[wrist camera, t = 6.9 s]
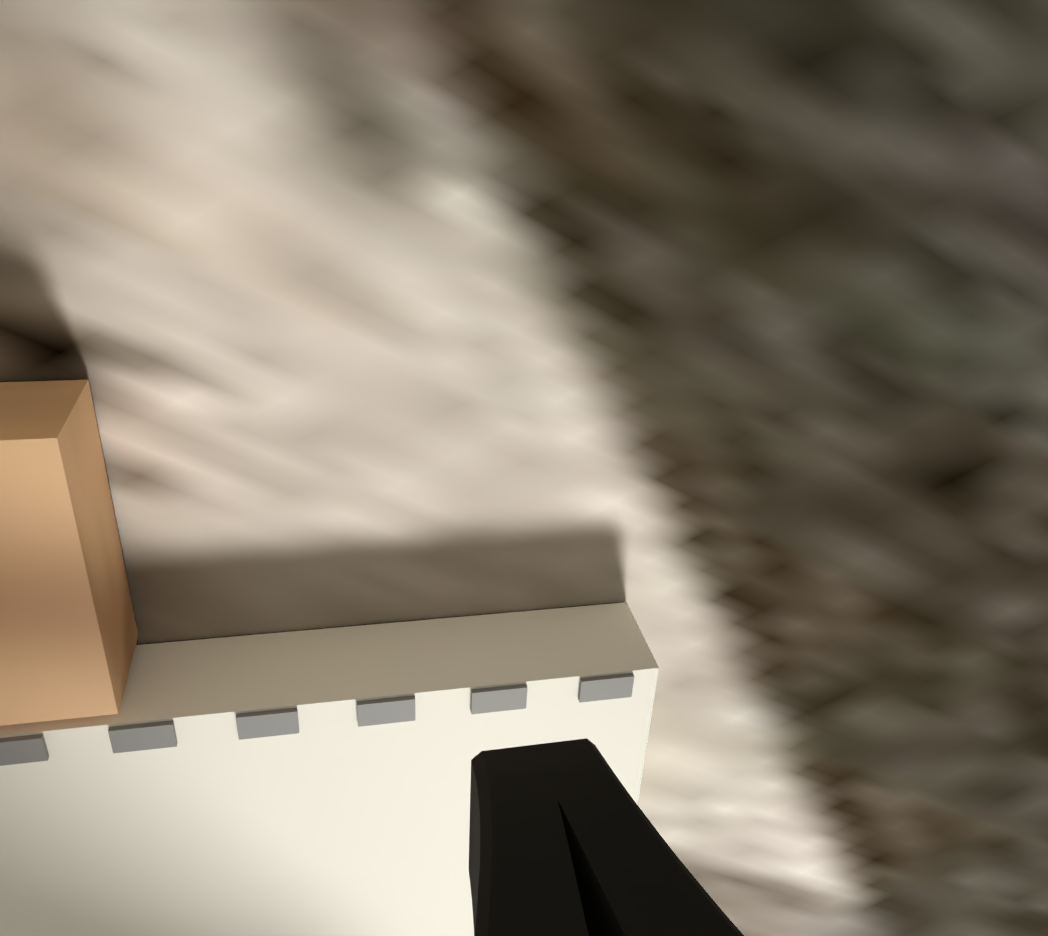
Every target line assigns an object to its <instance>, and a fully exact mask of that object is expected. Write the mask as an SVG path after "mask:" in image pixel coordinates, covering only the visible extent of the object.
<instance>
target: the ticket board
mask: <svg viewBox="0 0 1048 936" xmlns="http://www.w3.org/2000/svg"><path fill="white" fill-rule="evenodd" d="M658 670H659V667H658V665H657V663H656V661H655V659H654V657H653V655H652V653H651V651H650V649H649V647H648V645H647V643H646V641H645V639H644V637H643V635H642V633H641V631H640V629H639V626H638V624H637V622H636V620H635V618H634V616H633V614H632V612H631V610H630V608H629V606H628V604H627V602H625V603H614V604H602V605H591V606H579V607H568V608H556V609H545V610H533V611H522V612H510V613H499V614H487V615H476V616H465V617H453V618H442V619H430V620H419V621H407V622H396V623H384V624H373V625H361V626H350V627H338V628H327V629H315V630H304V631H292V632H281V633H269V634H258V635H246V636H235V637H224V638H212V639H201V640H189V641H178V642H166V643H155V644H143V645H136V646H135V650H134V654H133V658H132V662H131V666H130V669H129V673H128V677H127V681H126V685H125V689H124V693H123V697H122V701H121V704H120V708H119V712H118V714H112V715H102V716H92V717H82V718H72V719H63V720H53V721H43V722H33V723H23V724H13V725H3V726H0V936H474V923H473V908H472V896H471V886H470V877H469V829H470V788H471V760H472V759H473V758H474V757H475V756H476V755H478V754H479V753H480V752H481V751H486V750H494V749H503V748H511V747H519V746H527V745H536V744H544V743H552V742H561V741H569V740H577V739H585V738H587V739H588V740H590V741H591V742H592V743H593V744H595V745H596V747H597V748H598V750H599V751H600V753H601V754H602V756H603V757H604V759H605V760H606V762H607V763H608V765H609V766H610V768H611V769H612V770H613V772H614V773H615V775H616V776H617V778H618V779H619V780H620V782H621V783H622V785H623V786H624V787H625V789H626V790H627V792H628V793H629V794H630V796H631V797H632V798H633V800H634V801H635V802H636V804H638V798H639V791H640V785H641V779H642V772H643V766H644V759H645V753H646V747H647V740H648V734H649V728H650V721H651V715H652V708H653V702H654V696H655V689H656V683H657V677H658Z"/></svg>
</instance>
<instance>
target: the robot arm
mask: <svg viewBox="0 0 1048 936" xmlns="http://www.w3.org/2000/svg"><path fill="white" fill-rule="evenodd" d="M469 877H470V886H471V896H472V908H473V923H474V936H744V935H743V934H742V933H741V932H740V931H739V930H738V929H737V927H736V926H735V925H734V924H733V923H732V922H731V921H730V919H729V918H728V917H727V916H726V915H725V914H724V912H723V911H722V910H721V909H720V908H719V907H718V905H717V904H716V903H715V902H714V901H713V899H712V898H711V897H710V896H709V895H708V893H707V892H706V891H705V890H704V889H703V887H702V886H701V885H700V884H699V883H698V881H697V880H696V879H695V878H694V877H693V875H692V874H691V873H690V872H689V871H688V869H687V868H686V867H685V866H684V864H683V863H682V862H681V861H680V860H679V858H678V857H677V856H676V855H675V853H674V852H673V851H672V850H671V848H670V847H669V846H668V845H667V843H666V842H665V841H664V839H663V838H662V837H661V836H660V834H659V833H658V832H657V830H656V829H655V828H654V826H653V825H652V824H651V822H650V821H649V820H648V818H647V817H646V816H645V815H644V813H643V812H642V811H641V809H640V808H639V807H638V805H637V804H636V802H635V801H634V800H633V798H632V797H631V796H630V794H629V793H628V792H627V790H626V789H625V787H624V786H623V785H622V783H621V782H620V780H619V779H618V778H617V776H616V775H615V773H614V772H613V770H612V769H611V768H610V766H609V765H608V763H607V762H606V760H605V759H604V757H603V756H602V754H601V753H600V751H599V750H598V748H597V747H596V745H595V744H593V743H592V742H591V741H590V740H588V739H587V738H585V739H577V740H569V741H561V742H552V743H544V744H536V745H527V746H519V747H511V748H503V749H494V750H486V751H481V752H480V753H479V754H478V755H476V756H475V757H474V758H473V759H472V760H471V788H470V829H469Z"/></svg>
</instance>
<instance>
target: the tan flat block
mask: <svg viewBox="0 0 1048 936" xmlns="http://www.w3.org/2000/svg"><path fill="white" fill-rule="evenodd" d="M137 638H138V631H137V626H136V621H135V616H134V611H133V606H132V600H131V595H130V590H129V585H128V580H127V575H126V570H125V565H124V560H123V555H122V549H121V544H120V539H119V534H118V529H117V524H116V519H115V514H114V509H113V504H112V498H111V493H110V488H109V483H108V478H107V473H106V468H105V463H104V458H103V453H102V447H101V442H100V437H99V432H98V427H97V422H96V417H95V412H94V407H93V401H92V396H91V391H90V386H89V381H88V380H61V381H29V382H0V726H3V725H13V724H23V723H33V722H43V721H53V720H63V719H72V718H82V717H92V716H102V715H112V714H118V712H119V708H120V704H121V701H122V697H123V693H124V689H125V685H126V681H127V677H128V673H129V669H130V666H131V662H132V658H133V654H134V650H135V646H136V642H137Z"/></svg>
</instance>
